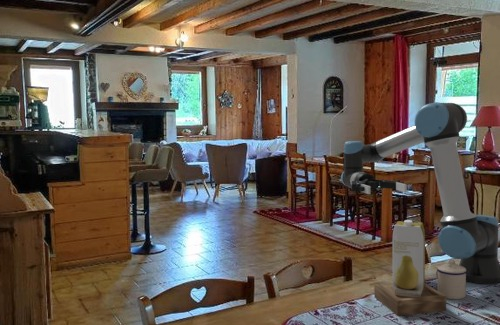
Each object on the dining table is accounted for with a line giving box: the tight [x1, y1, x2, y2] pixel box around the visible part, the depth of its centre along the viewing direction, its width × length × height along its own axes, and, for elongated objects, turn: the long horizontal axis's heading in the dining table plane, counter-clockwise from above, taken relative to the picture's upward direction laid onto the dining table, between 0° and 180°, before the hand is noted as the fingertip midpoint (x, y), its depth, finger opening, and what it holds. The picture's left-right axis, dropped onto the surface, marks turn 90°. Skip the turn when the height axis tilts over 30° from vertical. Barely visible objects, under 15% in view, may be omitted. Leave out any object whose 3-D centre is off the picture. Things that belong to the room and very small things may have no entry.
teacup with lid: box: [435, 259, 467, 300], centre depth 164 cm, size 12×9×12 cm
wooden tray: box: [373, 283, 447, 317], centre depth 157 cm, size 16×16×4 cm
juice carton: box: [392, 219, 426, 298], centre depth 156 cm, size 9×8×24 cm
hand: (387, 189), depth 173 cm, fingers open, 13 cm apart
